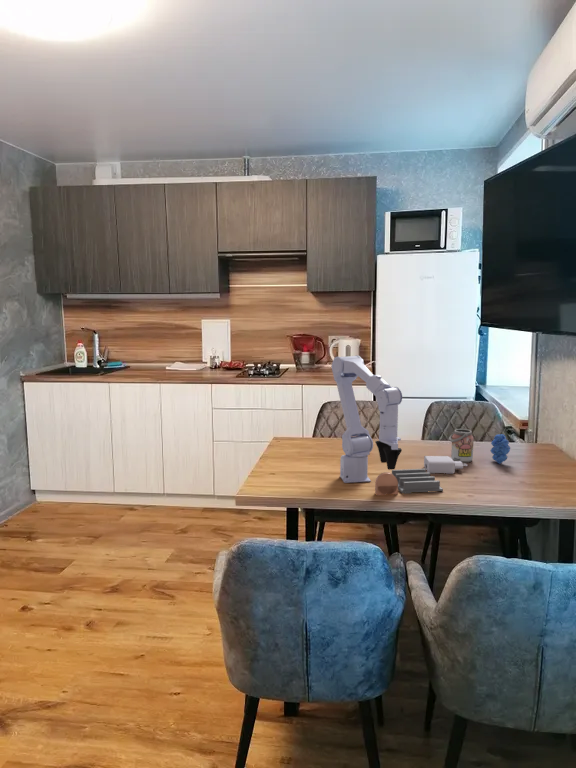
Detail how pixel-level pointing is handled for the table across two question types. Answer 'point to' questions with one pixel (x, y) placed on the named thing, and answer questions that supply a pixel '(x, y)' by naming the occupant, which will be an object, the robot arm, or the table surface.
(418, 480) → the dish rack
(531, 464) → the table surface
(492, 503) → the table surface
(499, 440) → the grapes
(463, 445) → the beverage can
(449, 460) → the charger
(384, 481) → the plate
